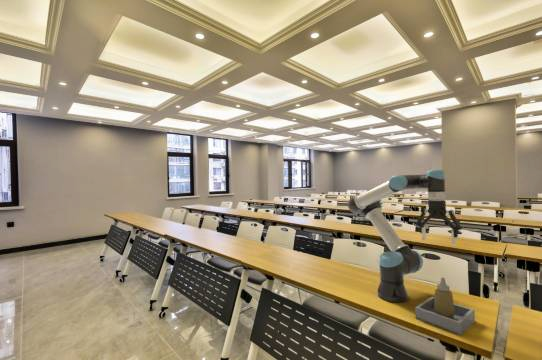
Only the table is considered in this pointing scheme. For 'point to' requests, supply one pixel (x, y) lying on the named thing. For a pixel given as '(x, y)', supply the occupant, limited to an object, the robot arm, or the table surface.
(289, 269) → the table surface
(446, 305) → the squeeze bottle
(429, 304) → the bin
